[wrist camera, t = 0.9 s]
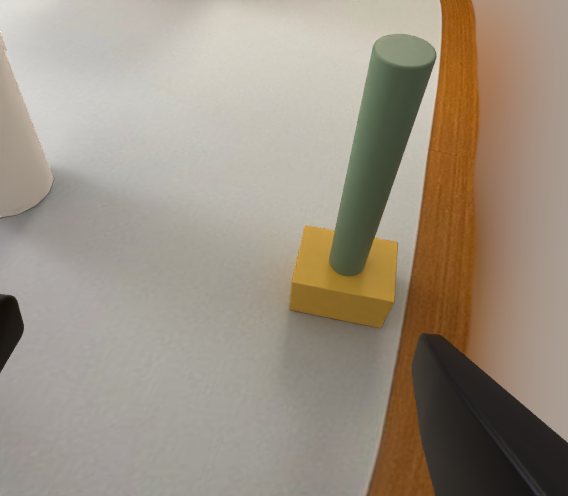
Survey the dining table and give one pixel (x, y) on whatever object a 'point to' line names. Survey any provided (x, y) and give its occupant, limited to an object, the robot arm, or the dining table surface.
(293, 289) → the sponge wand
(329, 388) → the dining table surface
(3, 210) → the foam cup
